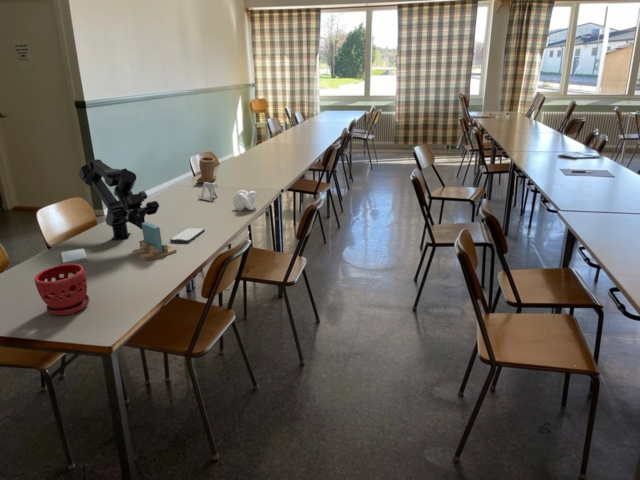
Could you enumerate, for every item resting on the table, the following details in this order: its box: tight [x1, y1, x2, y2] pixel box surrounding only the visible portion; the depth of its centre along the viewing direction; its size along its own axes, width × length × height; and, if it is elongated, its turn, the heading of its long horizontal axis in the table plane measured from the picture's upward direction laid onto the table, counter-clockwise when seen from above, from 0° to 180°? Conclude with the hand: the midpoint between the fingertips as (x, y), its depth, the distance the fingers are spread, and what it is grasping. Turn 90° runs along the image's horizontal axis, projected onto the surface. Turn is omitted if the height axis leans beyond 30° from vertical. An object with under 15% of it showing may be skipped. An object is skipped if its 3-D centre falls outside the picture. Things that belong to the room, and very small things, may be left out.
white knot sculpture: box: [232, 189, 258, 211], centre depth 237 cm, size 11×12×9 cm
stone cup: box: [196, 156, 217, 184], centre depth 296 cm, size 15×12×15 cm
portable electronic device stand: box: [197, 182, 219, 202], centre depth 258 cm, size 9×8×8 cm
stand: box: [131, 239, 178, 262], centre depth 185 cm, size 12×12×4 cm
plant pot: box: [33, 263, 91, 316], centre depth 142 cm, size 13×13×12 cm
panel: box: [141, 221, 163, 253], centre depth 184 cm, size 10×2×10 cm, turn 46°
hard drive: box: [60, 247, 89, 265], centre depth 183 cm, size 2×8×12 cm
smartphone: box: [169, 227, 206, 244], centre depth 203 cm, size 9×2×16 cm
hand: (144, 229), depth 186 cm, fingers closed
